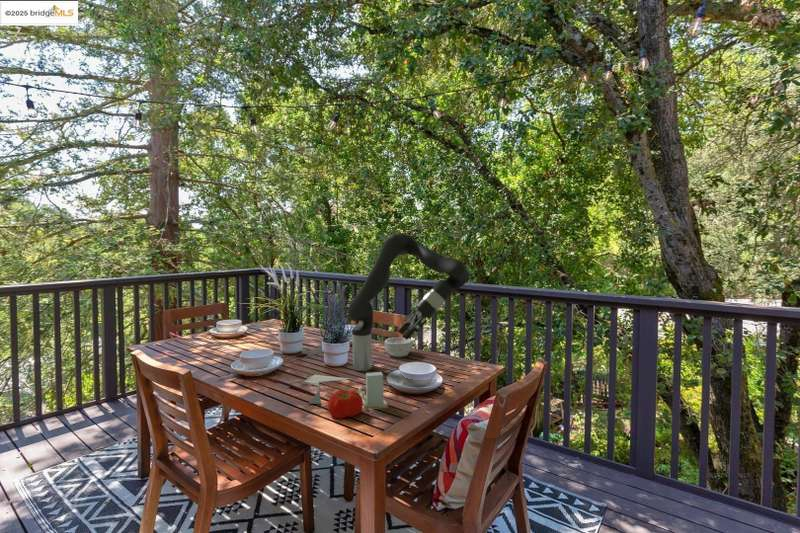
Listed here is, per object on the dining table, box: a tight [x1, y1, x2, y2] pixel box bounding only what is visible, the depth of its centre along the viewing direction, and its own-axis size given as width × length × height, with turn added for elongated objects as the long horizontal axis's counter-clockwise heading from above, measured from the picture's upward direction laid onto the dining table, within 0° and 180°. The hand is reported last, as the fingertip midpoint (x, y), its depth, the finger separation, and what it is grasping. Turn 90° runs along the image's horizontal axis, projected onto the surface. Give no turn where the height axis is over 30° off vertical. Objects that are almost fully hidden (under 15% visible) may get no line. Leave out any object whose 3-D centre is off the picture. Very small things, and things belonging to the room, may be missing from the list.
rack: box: [357, 387, 390, 411], centre depth 165 cm, size 18×9×2 cm, turn 13°
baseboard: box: [302, 372, 351, 387], centre depth 184 cm, size 31×3×12 cm
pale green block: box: [365, 371, 384, 407], centre depth 159 cm, size 4×6×12 cm, turn 103°
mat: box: [308, 391, 322, 406], centre depth 168 cm, size 12×8×1 cm, turn 173°
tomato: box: [327, 389, 363, 420], centre depth 152 cm, size 14×13×9 cm
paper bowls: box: [384, 336, 414, 358], centre depth 226 cm, size 15×15×8 cm
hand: (402, 335), depth 160 cm, fingers open, 8 cm apart
